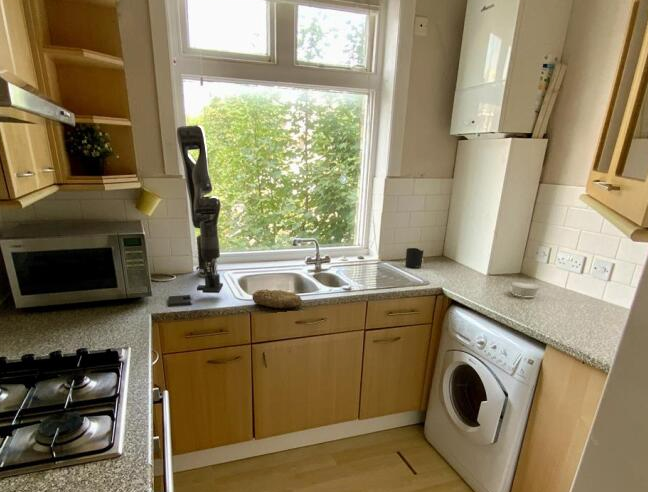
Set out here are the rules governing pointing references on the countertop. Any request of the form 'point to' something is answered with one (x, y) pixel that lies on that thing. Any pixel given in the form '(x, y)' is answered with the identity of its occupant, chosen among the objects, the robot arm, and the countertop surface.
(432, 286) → the countertop surface
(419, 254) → the pen holder
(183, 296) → the base pad
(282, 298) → the brown rounded lump
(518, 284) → the ramekin
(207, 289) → the joining pad
